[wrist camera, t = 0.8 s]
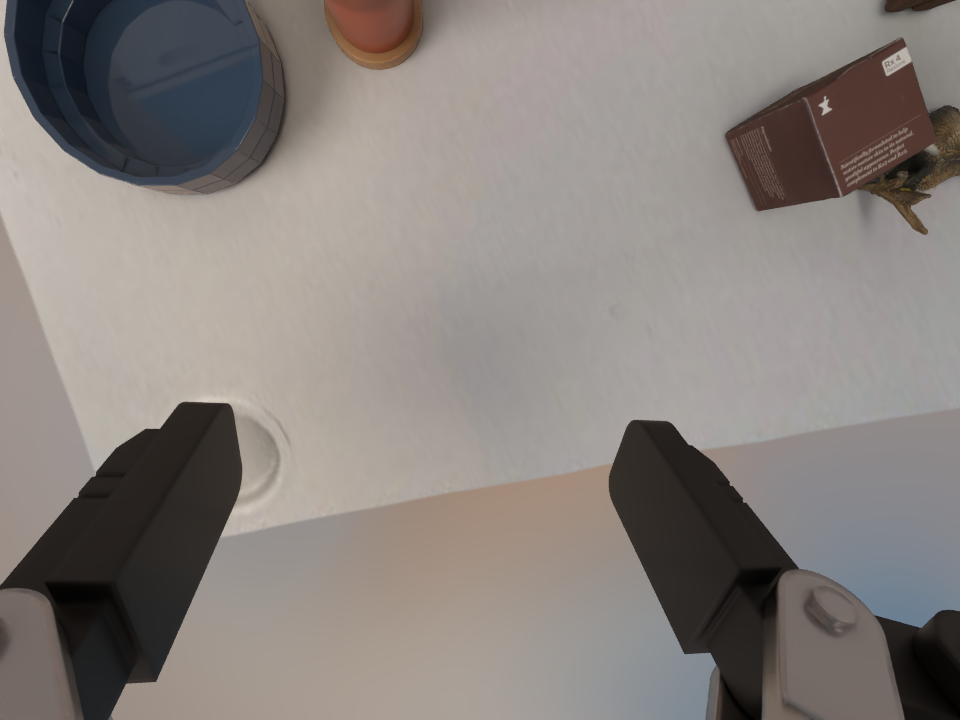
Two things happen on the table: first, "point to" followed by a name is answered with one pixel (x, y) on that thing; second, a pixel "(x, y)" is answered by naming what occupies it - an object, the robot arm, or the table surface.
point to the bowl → (150, 86)
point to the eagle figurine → (923, 168)
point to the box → (834, 132)
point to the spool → (375, 29)
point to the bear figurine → (913, 4)
